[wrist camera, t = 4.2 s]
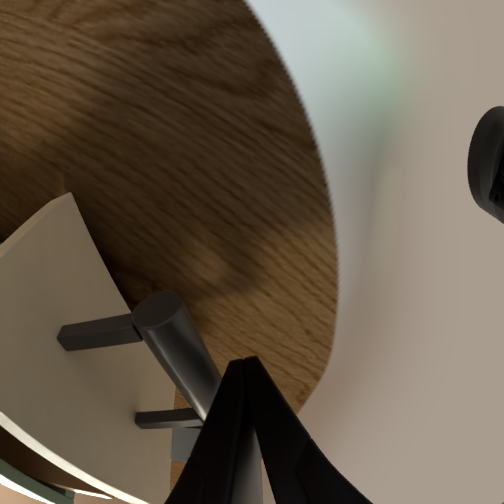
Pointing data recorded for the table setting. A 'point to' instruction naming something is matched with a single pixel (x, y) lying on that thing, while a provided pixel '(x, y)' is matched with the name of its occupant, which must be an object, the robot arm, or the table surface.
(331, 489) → the robot arm
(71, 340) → the drawer
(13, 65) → the table surface
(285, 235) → the table surface
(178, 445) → the coaster
